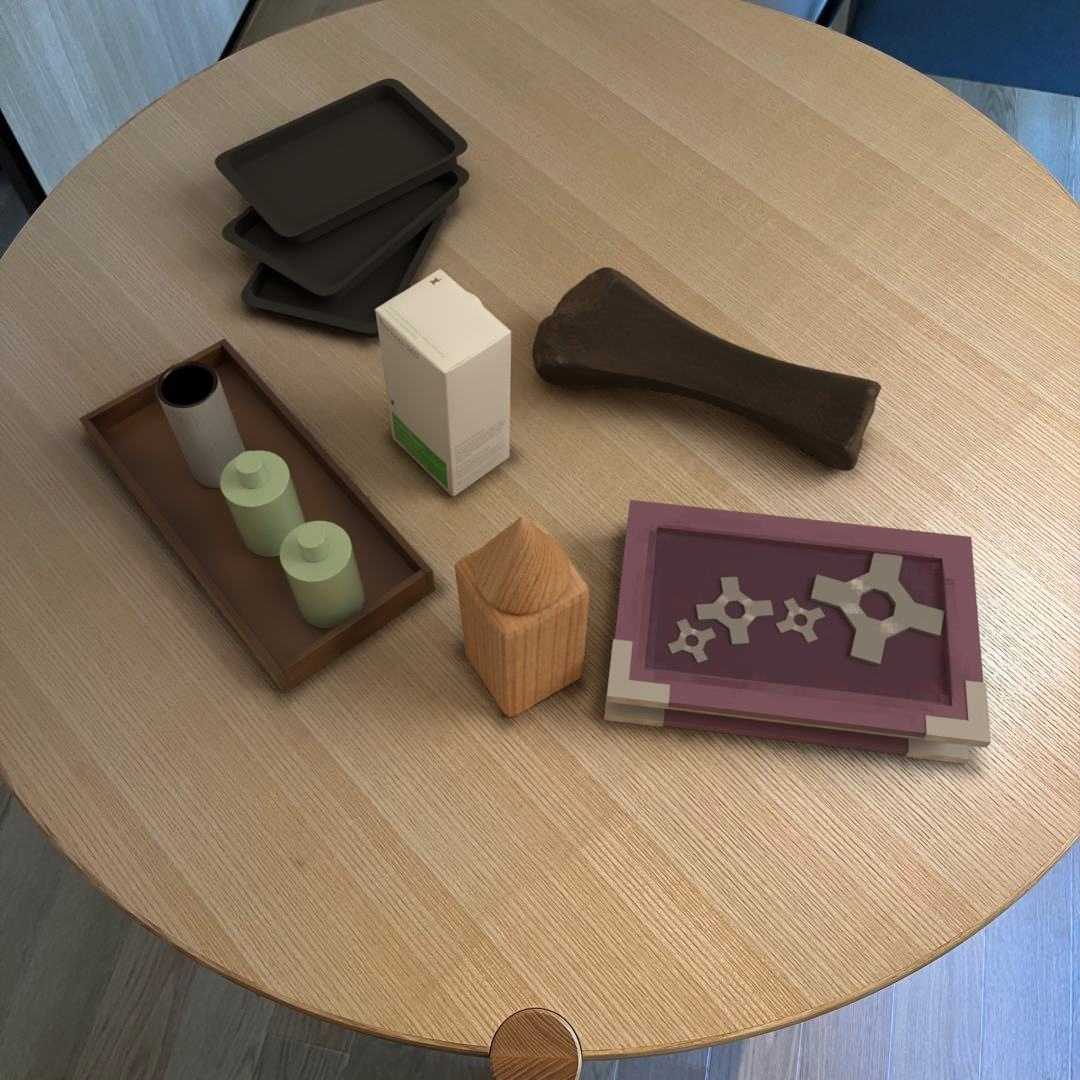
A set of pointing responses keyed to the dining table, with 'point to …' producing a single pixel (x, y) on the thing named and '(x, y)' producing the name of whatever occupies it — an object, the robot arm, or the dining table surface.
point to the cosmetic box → (446, 380)
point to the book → (799, 632)
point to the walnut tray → (214, 540)
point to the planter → (200, 419)
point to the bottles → (293, 538)
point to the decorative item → (523, 615)
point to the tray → (343, 205)
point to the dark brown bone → (697, 367)
